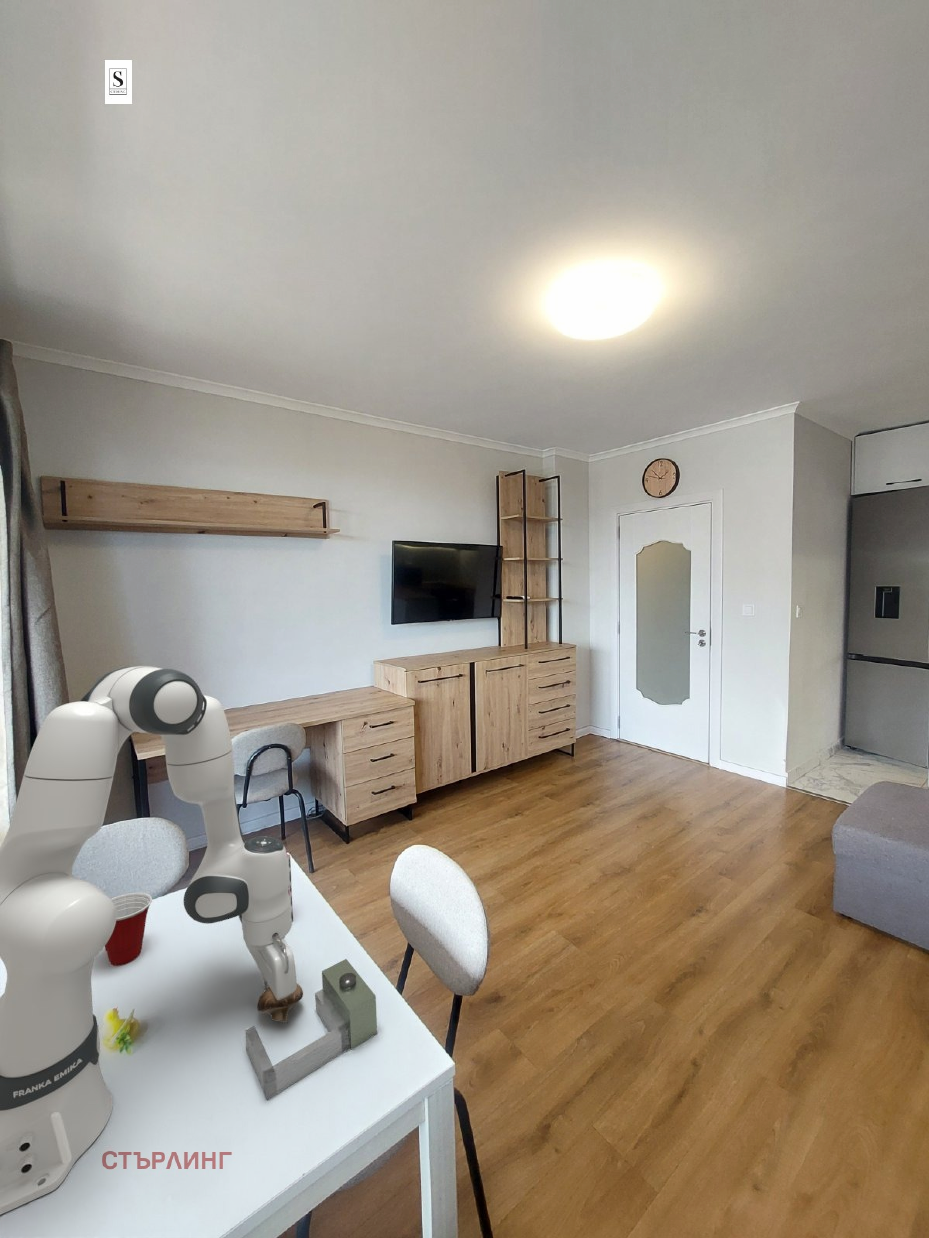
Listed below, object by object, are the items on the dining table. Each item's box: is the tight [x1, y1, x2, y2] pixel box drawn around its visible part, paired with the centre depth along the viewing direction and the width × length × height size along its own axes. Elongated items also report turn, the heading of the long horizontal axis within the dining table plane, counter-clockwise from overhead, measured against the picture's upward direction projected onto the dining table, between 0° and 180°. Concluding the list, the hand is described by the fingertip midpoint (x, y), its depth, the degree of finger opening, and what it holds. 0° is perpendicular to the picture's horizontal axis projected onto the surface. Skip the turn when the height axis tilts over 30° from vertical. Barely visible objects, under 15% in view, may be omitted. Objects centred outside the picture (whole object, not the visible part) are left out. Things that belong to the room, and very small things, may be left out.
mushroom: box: [256, 983, 304, 1023], centre depth 94 cm, size 8×8×6 cm
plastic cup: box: [104, 892, 153, 967], centre depth 111 cm, size 11×11×12 cm
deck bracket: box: [244, 958, 378, 1101], centre depth 88 cm, size 19×12×8 cm, turn 128°
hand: (270, 990), depth 98 cm, fingers closed
